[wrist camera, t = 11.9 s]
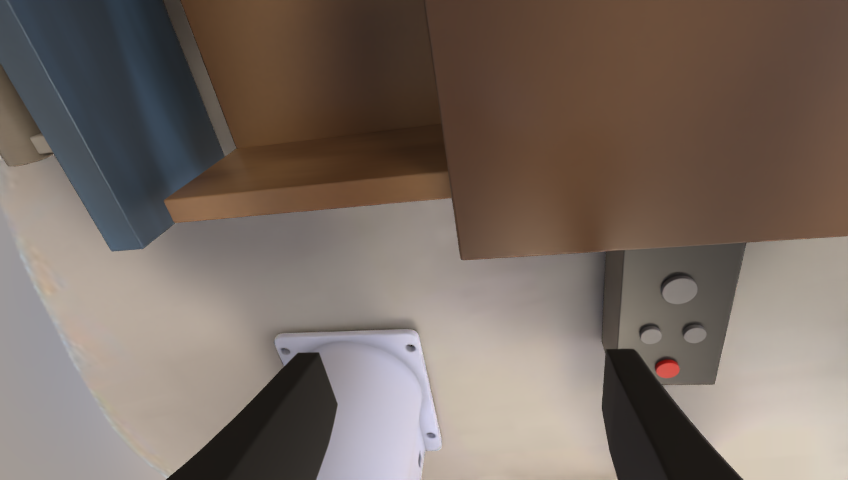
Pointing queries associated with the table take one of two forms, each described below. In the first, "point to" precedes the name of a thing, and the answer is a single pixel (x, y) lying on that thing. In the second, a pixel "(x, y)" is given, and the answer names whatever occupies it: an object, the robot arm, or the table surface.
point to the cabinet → (641, 122)
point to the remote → (672, 307)
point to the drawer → (222, 107)
